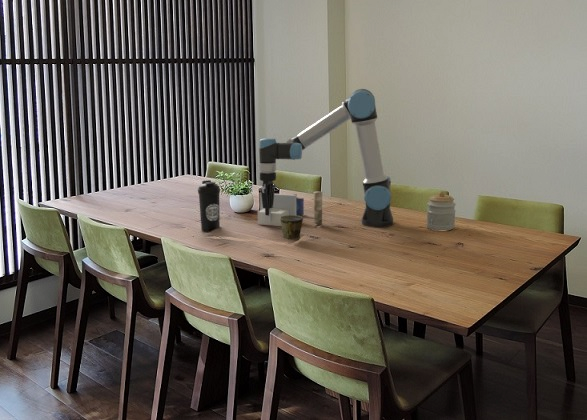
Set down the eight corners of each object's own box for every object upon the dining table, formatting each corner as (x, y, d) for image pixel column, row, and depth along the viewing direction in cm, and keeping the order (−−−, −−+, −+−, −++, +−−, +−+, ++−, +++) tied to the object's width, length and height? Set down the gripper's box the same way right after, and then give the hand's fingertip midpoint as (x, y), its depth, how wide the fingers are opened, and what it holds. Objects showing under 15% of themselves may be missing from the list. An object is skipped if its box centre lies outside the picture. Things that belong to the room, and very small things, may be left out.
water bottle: (204, 233, 323) (202, 184, 318) (196, 228, 332) (194, 180, 327) (224, 230, 328) (223, 182, 322) (216, 226, 336) (214, 178, 331)
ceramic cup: (281, 236, 316) (281, 214, 314) (303, 236, 315) (303, 215, 313) (278, 244, 304) (278, 222, 301) (301, 244, 303) (301, 222, 300)
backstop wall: (296, 223, 340) (296, 194, 337) (278, 235, 319) (278, 204, 316) (262, 220, 346) (261, 192, 343) (242, 231, 325) (241, 202, 322)
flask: (304, 215, 357) (304, 194, 354) (301, 216, 354) (301, 195, 352) (288, 213, 361) (288, 192, 359) (285, 214, 359) (285, 193, 356)
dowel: (323, 224, 337) (323, 191, 333) (320, 226, 333) (320, 193, 330) (315, 223, 338) (315, 191, 335) (312, 225, 335) (312, 192, 331)
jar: (421, 229, 326) (422, 191, 322) (434, 223, 336) (435, 187, 332) (447, 233, 318) (448, 195, 314) (459, 227, 328) (461, 190, 324)
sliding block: (289, 221, 339) (288, 209, 337) (281, 226, 329) (281, 213, 328) (266, 219, 343) (265, 207, 341) (257, 224, 334) (257, 211, 332)
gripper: (265, 169, 332) (265, 218, 336) (254, 173, 320) (255, 223, 325) (280, 170, 329) (280, 219, 334) (270, 174, 317) (270, 225, 322)
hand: (268, 221), depth 329 cm, fingers closed
